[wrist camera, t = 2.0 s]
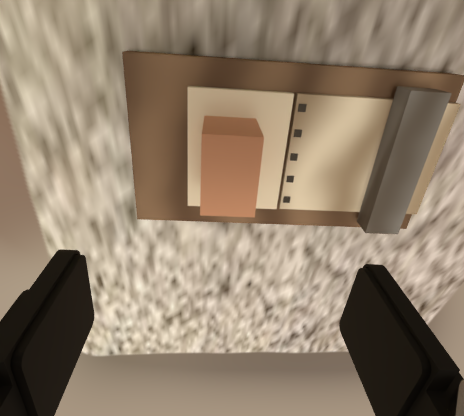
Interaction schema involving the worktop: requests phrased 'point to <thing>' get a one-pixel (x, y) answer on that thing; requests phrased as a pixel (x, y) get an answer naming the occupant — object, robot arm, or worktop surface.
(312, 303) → the worktop surface
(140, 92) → the ticket board
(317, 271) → the worktop surface
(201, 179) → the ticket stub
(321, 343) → the worktop surface
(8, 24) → the worktop surface
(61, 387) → the robot arm
